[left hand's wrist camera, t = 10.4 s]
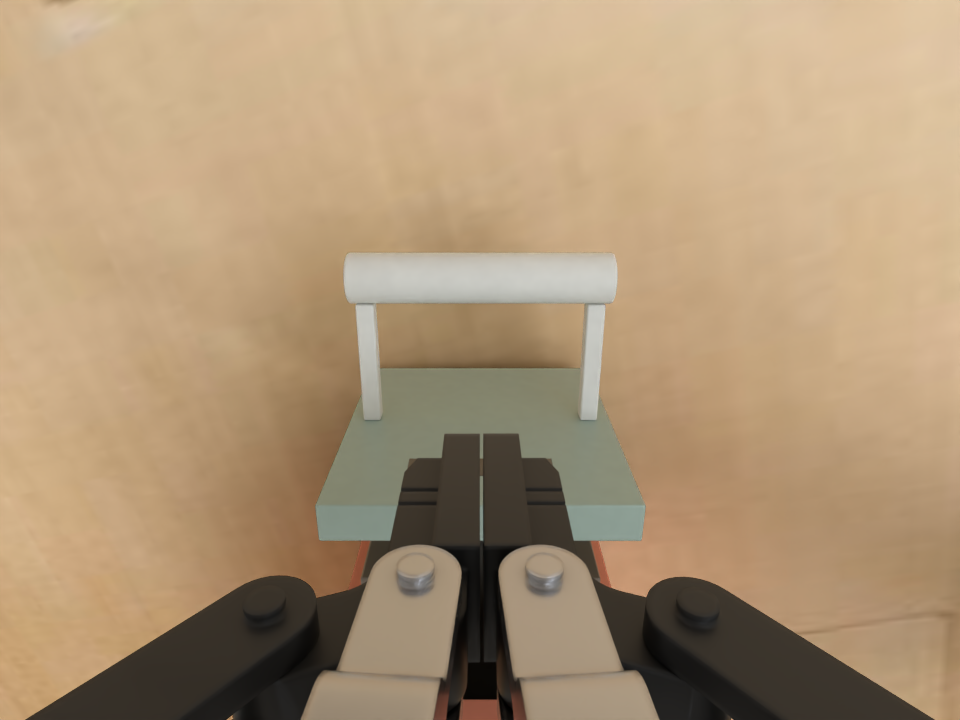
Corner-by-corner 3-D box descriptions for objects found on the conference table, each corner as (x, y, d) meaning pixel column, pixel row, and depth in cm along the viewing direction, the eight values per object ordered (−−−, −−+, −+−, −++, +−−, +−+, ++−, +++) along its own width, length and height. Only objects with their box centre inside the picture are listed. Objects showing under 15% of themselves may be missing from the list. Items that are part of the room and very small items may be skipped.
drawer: (362, 227, 24) (290, 300, 15) (597, 227, 24) (670, 300, 15) (394, 702, 33) (362, 926, 24) (565, 702, 33) (597, 926, 24)
